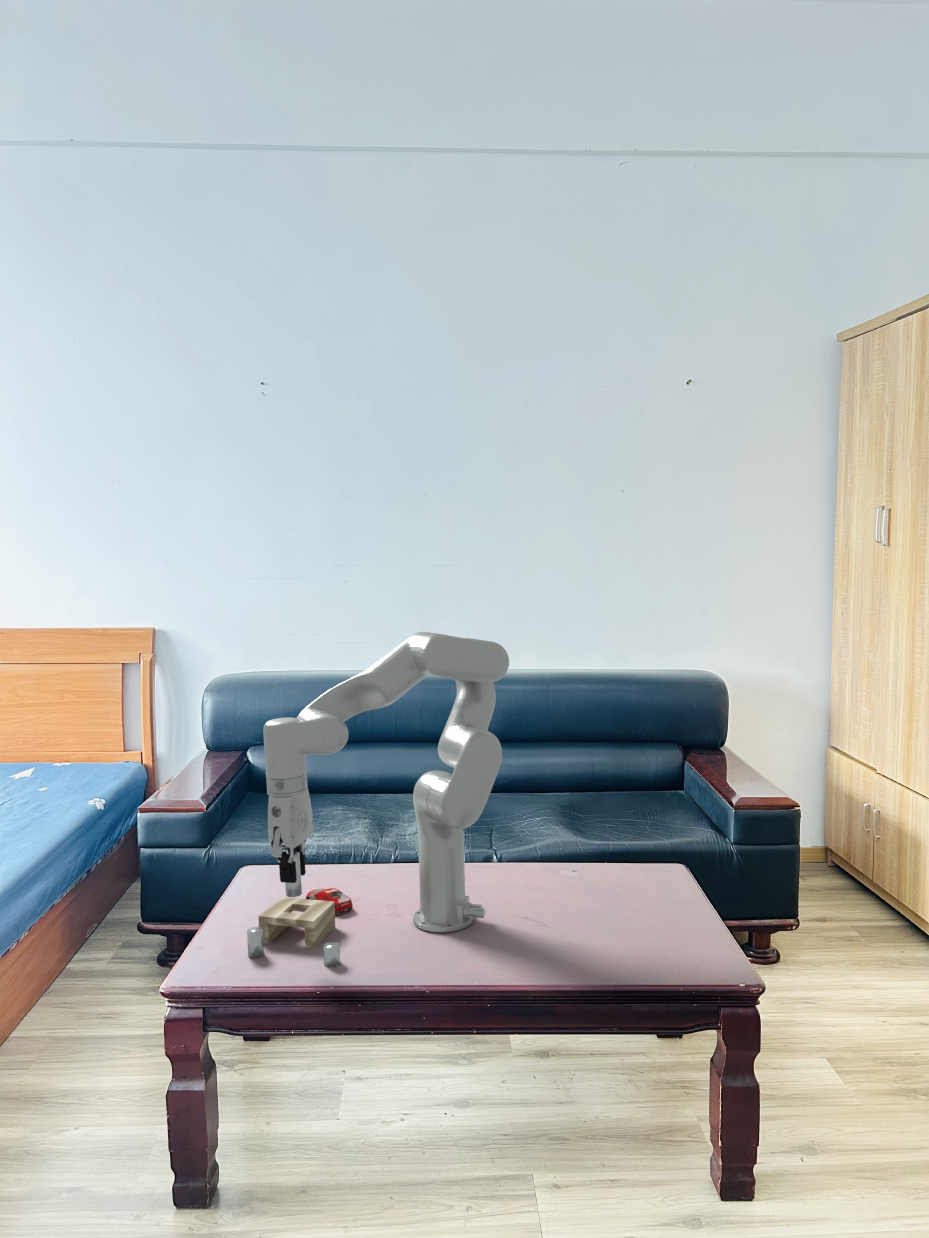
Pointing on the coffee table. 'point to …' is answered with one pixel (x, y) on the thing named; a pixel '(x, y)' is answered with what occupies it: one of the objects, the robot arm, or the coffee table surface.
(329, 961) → the short pin
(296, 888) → the long pin
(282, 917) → the bridge
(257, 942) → the medium pin
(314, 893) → the race car
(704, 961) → the coffee table surface
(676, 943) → the coffee table surface
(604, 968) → the coffee table surface
